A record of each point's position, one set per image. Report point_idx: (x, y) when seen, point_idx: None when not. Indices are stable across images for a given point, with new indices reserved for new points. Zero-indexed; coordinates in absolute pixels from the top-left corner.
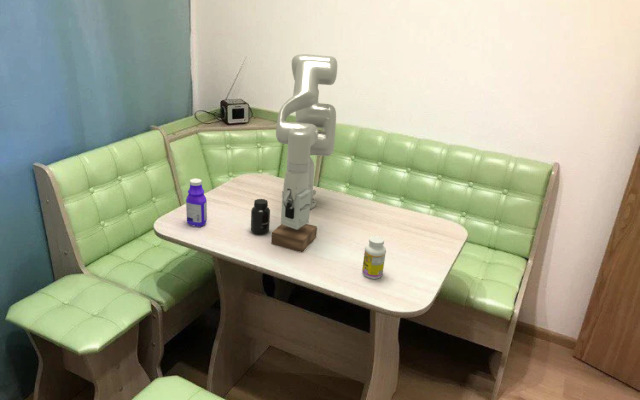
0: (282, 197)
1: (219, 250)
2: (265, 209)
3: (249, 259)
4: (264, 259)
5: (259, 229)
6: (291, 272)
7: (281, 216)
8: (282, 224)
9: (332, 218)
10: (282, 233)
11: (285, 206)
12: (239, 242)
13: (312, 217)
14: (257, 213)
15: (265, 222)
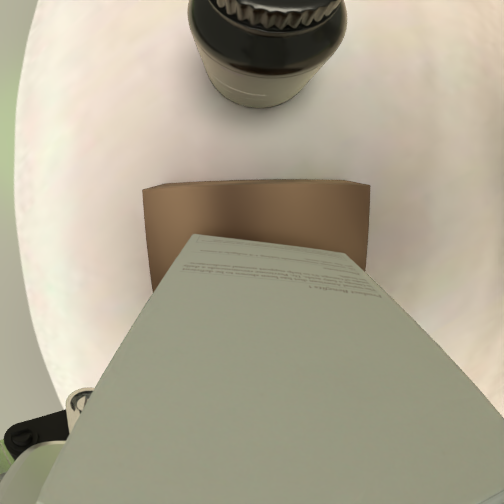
0: (90, 397)
1: (28, 51)
2: (258, 37)
3: (22, 183)
4: (48, 233)
5: (207, 73)
6: (54, 352)
7: (178, 255)
8: (280, 195)
9: (495, 308)
10: (166, 256)
11: (62, 411)
12: (105, 55)
13: (489, 238)
14: (188, 15)
15: (231, 85)
